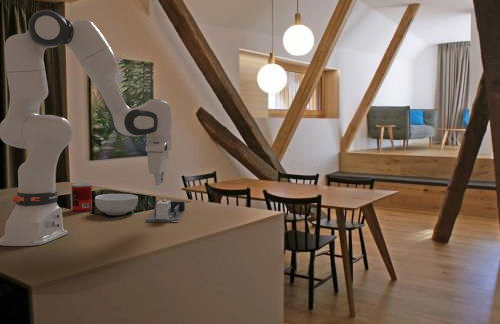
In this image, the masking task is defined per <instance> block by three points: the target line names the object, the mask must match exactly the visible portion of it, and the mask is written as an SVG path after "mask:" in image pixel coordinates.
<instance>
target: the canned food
mask: <svg viewBox="0 0 500 324" xmlns="http://www.w3.org/2000/svg"><path fill="white" fill-rule="evenodd" d="M71 209H72V212H74V213H75V212H77V213H82V212H83V213H86V212H90V211H92V209H93V186H92V183H89V182H80V183H79V182H78V183H73V184H71Z"/></svg>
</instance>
